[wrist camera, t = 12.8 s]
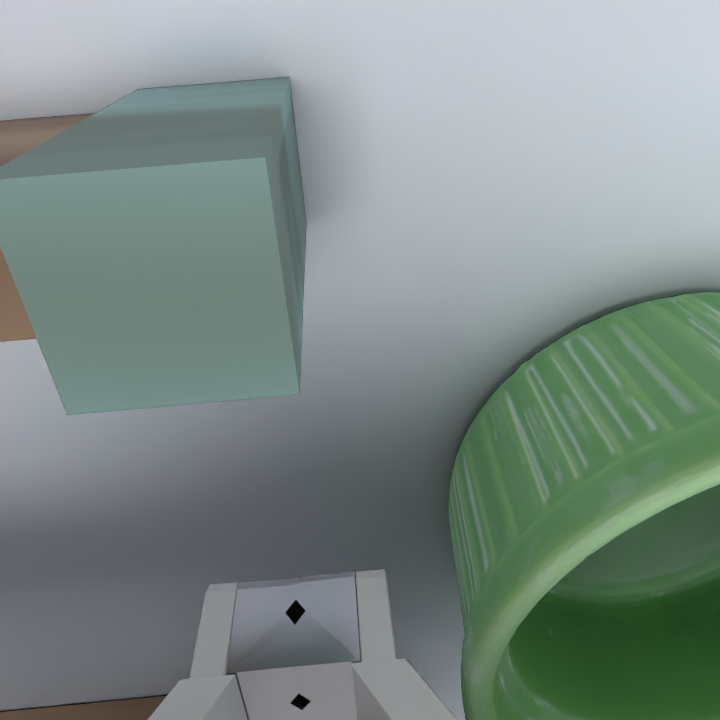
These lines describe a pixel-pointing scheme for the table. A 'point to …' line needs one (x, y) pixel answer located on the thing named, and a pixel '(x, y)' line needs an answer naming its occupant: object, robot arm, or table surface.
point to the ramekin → (596, 525)
